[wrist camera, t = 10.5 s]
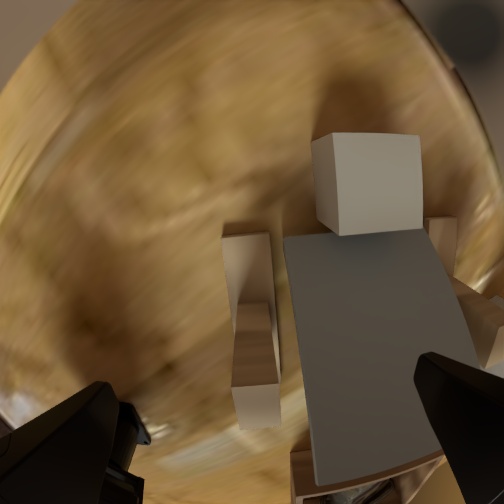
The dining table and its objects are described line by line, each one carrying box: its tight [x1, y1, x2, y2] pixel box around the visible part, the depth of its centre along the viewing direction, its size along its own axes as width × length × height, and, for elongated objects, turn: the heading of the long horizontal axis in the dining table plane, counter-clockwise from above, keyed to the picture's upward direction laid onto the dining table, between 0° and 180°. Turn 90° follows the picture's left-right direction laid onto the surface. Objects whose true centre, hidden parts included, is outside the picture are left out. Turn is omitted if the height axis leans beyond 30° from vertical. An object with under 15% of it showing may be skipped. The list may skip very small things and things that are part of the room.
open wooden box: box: [290, 449, 445, 504], centre depth 24 cm, size 16×16×6 cm
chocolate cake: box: [319, 479, 395, 504], centre depth 27 cm, size 10×7×12 cm
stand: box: [221, 216, 504, 429], centre depth 16 cm, size 12×18×9 cm
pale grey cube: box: [311, 133, 423, 236], centre depth 15 cm, size 5×5×5 cm
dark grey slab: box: [283, 226, 481, 486], centre depth 15 cm, size 14×10×5 cm
